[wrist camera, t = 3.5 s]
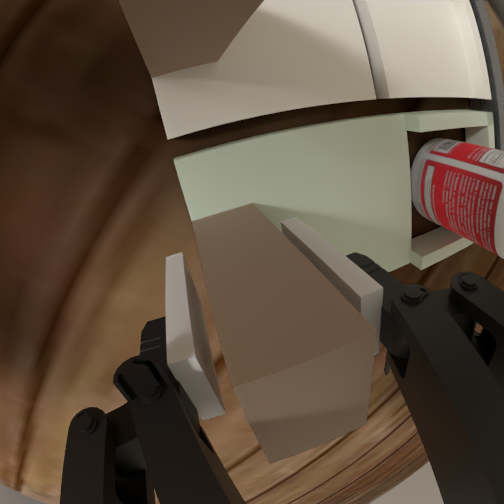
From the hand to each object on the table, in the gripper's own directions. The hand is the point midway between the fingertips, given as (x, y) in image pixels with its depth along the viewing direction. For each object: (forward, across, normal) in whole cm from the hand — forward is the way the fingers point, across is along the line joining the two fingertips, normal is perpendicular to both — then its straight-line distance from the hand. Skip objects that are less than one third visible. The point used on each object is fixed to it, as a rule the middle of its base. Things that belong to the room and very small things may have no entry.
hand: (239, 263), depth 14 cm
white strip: (+3, +16, +11) cm, 19 cm away
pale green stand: (+3, +10, 0) cm, 10 cm away
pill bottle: (+3, +16, 0) cm, 16 cm away
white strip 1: (+3, +4, +11) cm, 12 cm away
